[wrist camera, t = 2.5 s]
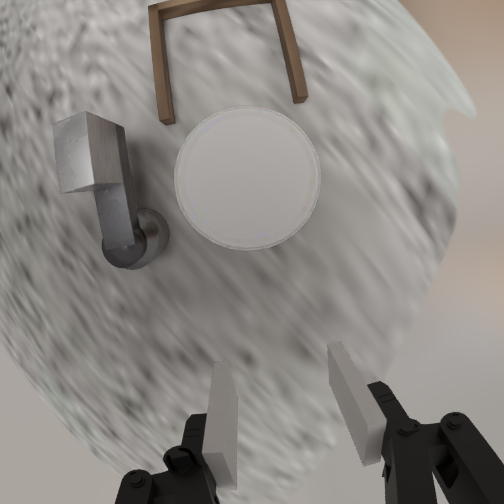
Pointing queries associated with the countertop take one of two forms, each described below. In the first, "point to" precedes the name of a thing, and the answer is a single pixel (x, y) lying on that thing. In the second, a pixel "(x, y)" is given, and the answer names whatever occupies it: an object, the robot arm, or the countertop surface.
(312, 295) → the countertop surface
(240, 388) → the countertop surface
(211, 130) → the coffee cup
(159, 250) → the pedestal
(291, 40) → the brown u-shaped wooden bracket
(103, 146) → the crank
